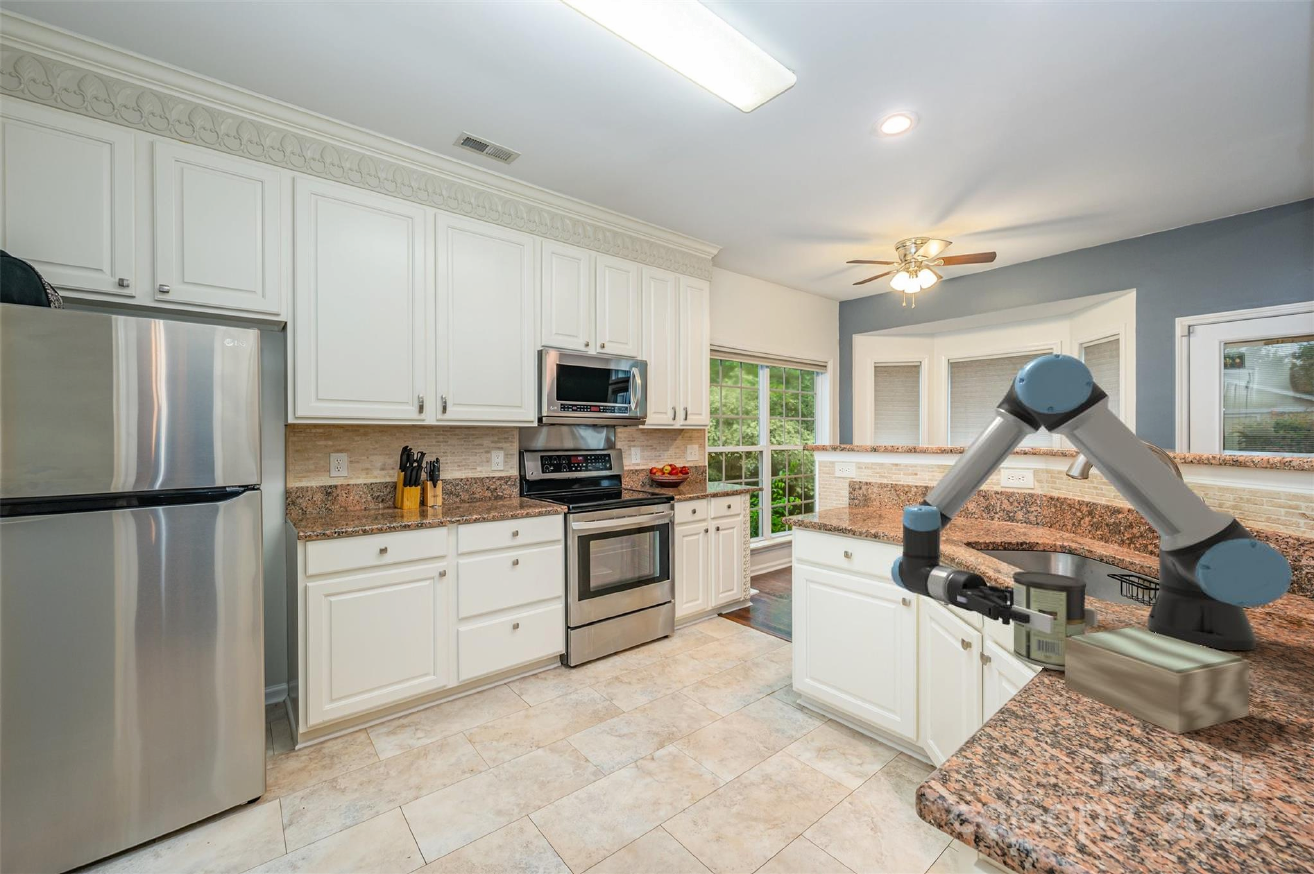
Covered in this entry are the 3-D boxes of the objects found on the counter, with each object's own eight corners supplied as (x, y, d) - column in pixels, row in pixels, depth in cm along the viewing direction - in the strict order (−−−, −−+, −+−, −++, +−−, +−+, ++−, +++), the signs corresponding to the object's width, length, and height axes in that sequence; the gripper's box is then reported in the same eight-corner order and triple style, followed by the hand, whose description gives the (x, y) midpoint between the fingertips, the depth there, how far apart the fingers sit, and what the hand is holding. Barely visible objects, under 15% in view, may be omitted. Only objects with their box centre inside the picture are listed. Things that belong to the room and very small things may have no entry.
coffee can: (1065, 651, 97) (1065, 572, 97) (1100, 674, 87) (1100, 587, 87) (1002, 645, 99) (1002, 569, 99) (1028, 668, 89) (1029, 583, 89)
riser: (1131, 674, 88) (1131, 625, 88) (1249, 715, 75) (1249, 658, 75) (1064, 687, 83) (1065, 635, 83) (1178, 734, 69) (1178, 672, 70)
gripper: (998, 601, 114) (1118, 637, 93) (915, 611, 106) (1025, 652, 85) (998, 566, 114) (1118, 594, 93) (915, 573, 106) (1025, 605, 85)
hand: (1074, 622), depth 89 cm, fingers closed on coffee can, 10 cm apart
